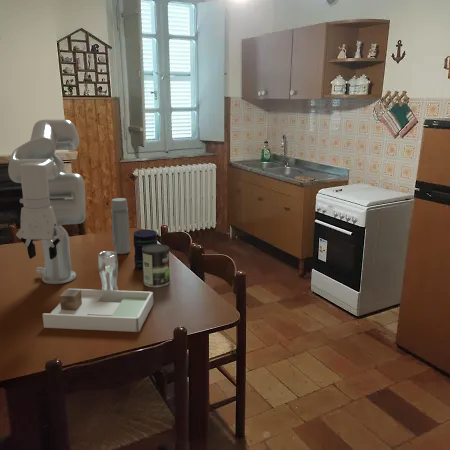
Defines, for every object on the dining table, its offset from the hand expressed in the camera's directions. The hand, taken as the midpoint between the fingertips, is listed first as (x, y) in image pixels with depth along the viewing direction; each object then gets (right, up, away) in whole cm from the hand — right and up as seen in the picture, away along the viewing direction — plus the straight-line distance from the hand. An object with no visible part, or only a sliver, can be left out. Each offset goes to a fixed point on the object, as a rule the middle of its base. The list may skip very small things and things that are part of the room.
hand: (42, 257), depth 142 cm
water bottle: (+10, -3, +63) cm, 64 cm away
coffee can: (+32, -12, +31) cm, 46 cm away
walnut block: (+8, -17, +4) cm, 19 cm away
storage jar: (+25, -8, +47) cm, 53 cm away
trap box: (+18, -19, +4) cm, 27 cm away
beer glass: (+16, -15, +21) cm, 30 cm away
